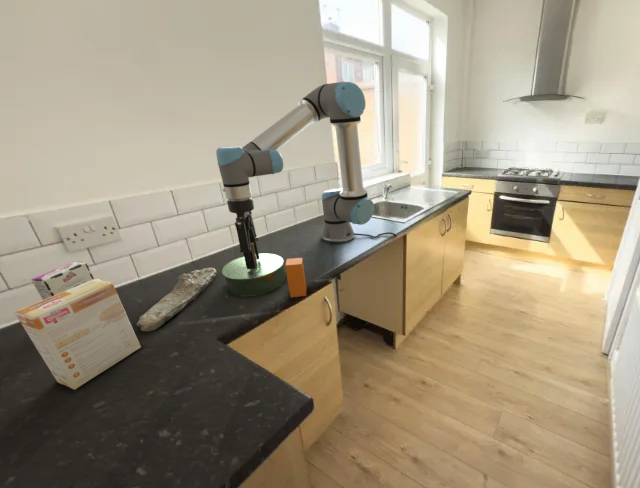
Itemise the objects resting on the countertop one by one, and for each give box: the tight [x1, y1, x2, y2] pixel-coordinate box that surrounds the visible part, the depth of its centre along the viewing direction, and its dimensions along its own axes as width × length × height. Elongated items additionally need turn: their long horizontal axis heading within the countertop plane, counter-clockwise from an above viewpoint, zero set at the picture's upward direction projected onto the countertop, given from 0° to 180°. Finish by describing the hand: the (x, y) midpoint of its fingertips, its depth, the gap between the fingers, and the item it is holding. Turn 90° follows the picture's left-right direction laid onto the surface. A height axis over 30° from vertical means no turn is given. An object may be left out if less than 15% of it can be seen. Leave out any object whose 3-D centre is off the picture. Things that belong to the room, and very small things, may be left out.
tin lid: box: [221, 242, 285, 281], centre depth 109 cm, size 20×20×9 cm
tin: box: [224, 265, 286, 297], centre depth 112 cm, size 19×19×6 cm
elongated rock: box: [136, 267, 218, 332], centre depth 103 cm, size 35×5×10 cm
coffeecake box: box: [14, 278, 142, 391], centre depth 73 cm, size 15×7×20 cm, turn 159°
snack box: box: [284, 257, 308, 298], centre depth 103 cm, size 5×5×12 cm
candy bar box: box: [30, 261, 95, 300], centre depth 92 cm, size 11×5×16 cm, turn 170°
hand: (253, 263), depth 110 cm, fingers open, 7 cm apart
